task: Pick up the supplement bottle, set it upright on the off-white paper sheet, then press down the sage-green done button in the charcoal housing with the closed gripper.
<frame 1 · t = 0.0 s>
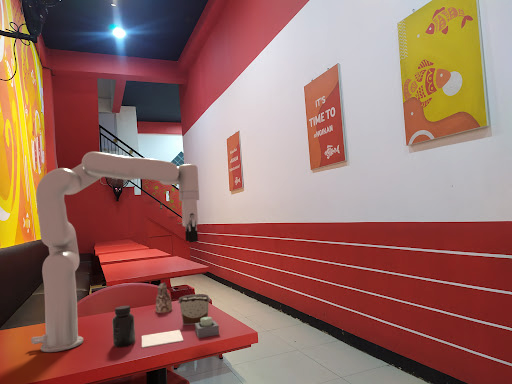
hand: (191, 241, 137), 31 cm above the table, tool pointing down, fingers open, 9 cm apart
button housing: (207, 333, 124), on the table
done button: (206, 322, 125), point 4 cm above the table, slide at 0.0 cm
paper sheet: (162, 338, 122), on the table
supplement bottle: (124, 344, 119), on the table
figurine: (163, 310, 160), on the table
food container: (197, 322, 139), on the table
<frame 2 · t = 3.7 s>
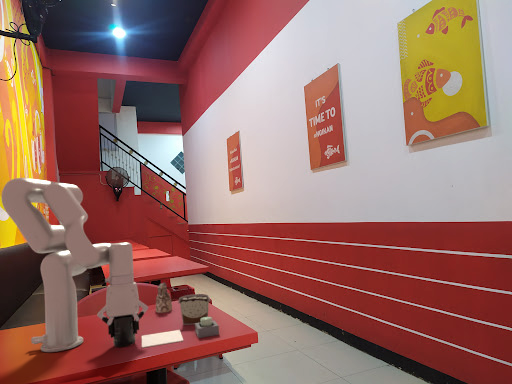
hand: (124, 334, 119), 3 cm above the table, tool pointing down, fingers closed on supplement bottle, 6 cm apart
supplement bottle: (124, 344, 119), on the table, touching gripper
everything else where it was.
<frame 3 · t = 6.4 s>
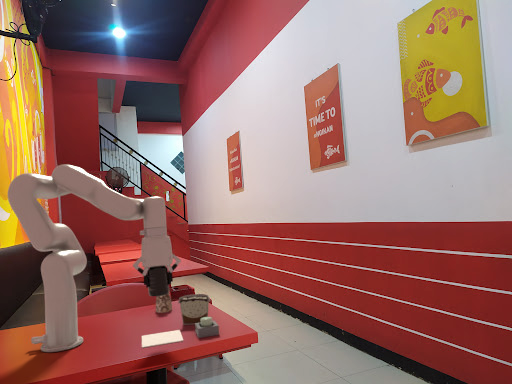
hand: (158, 285, 123), 18 cm above the table, tool pointing down, fingers closed on supplement bottle, 6 cm apart
supplement bottle: (159, 295, 122), point 15 cm above the table, touching gripper
everything else where it was.
when the fingers open (5 cm above the table, at t = 9.4 s): supplement bottle drops 1 cm, resting on paper sheet.
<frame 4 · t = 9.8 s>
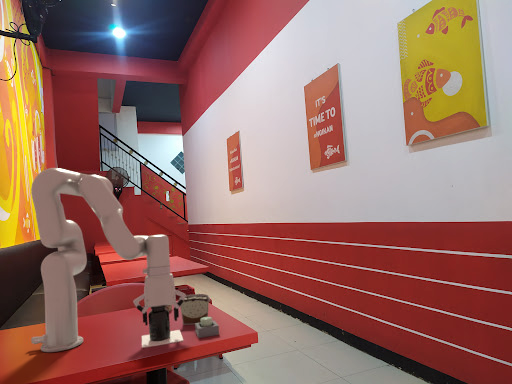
hand: (161, 322, 122), 5 cm above the table, tool pointing down, fingers open, 9 cm apart
supplement bottle: (160, 338, 121), resting on paper sheet
everything else where it was.
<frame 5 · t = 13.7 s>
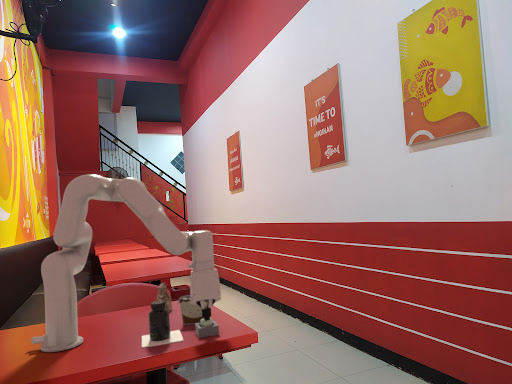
hand: (206, 319, 125), 5 cm above the table, tool pointing down, fingers closed
done button: (206, 323, 125), point 3 cm above the table, slide at 0.4 cm, touching gripper
everything else where it was.
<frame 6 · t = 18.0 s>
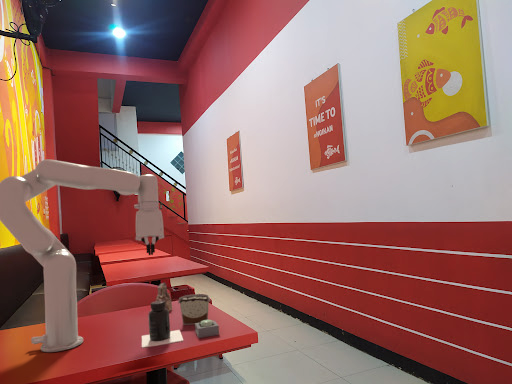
hand: (150, 254, 138), 27 cm above the table, tool pointing down, fingers closed
done button: (206, 325, 125), point 3 cm above the table, slide at 1.0 cm
everything else where it was.
at the end: supplement bottle inside the target area on the paper sheet (0.6 cm from its centre), point 0.1 cm above the paper sheet's base; supplement bottle tilted 0°; done button slide at 1.0 cm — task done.
